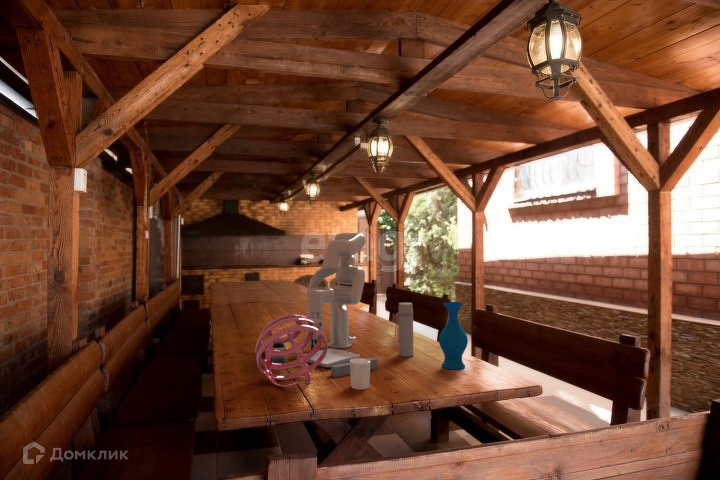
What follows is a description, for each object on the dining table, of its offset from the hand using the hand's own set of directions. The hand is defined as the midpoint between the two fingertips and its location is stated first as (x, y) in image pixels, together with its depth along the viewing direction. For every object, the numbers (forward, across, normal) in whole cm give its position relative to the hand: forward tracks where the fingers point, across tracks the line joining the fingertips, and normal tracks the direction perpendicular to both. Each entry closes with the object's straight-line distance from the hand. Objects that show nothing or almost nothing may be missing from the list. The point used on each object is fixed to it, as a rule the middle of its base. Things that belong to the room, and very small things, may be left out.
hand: (314, 353), depth 226 cm
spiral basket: (+2, -30, +27) cm, 41 cm away
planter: (+2, +10, +15) cm, 18 cm away
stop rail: (+2, -33, -1) cm, 33 cm away
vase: (+2, -52, -40) cm, 66 cm away
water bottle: (+2, -24, -36) cm, 43 cm away
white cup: (+2, -51, +9) cm, 52 cm away
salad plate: (+2, -12, 0) cm, 13 cm away
